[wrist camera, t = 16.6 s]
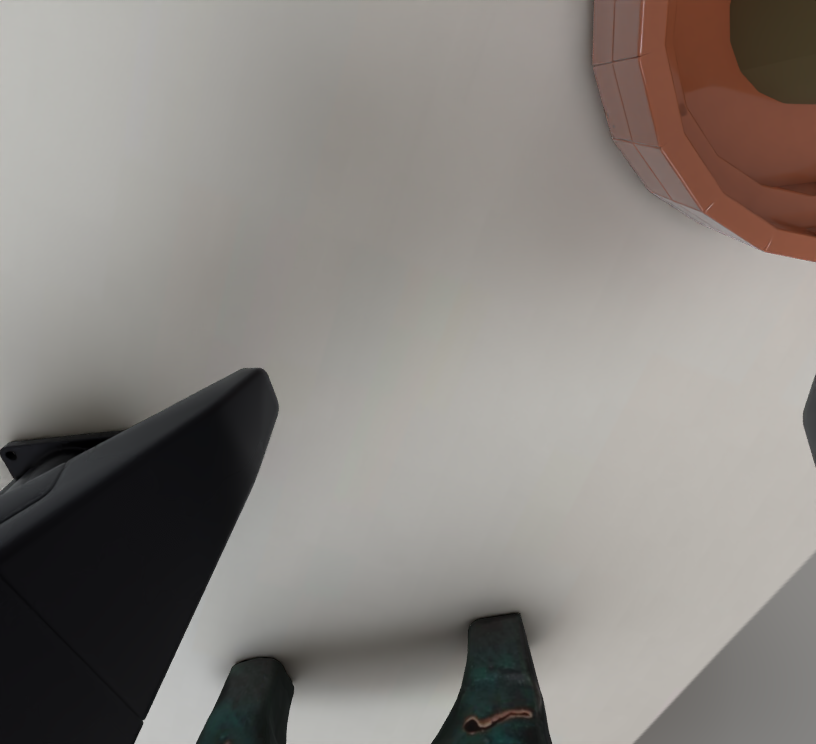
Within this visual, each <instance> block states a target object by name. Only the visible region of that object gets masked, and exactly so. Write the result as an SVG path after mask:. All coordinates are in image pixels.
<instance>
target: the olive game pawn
mask: <svg viewBox="0 0 816 744" xmlns="http://www.w3.org/2000/svg"><path fill="white" fill-rule="evenodd" d="M730 43H731V46H732V49H733V52H734V54H735V57H736V60H737V63H738V66H739V69H740V71H741V73H742V74H743V75H744V76H745V77H746V78H747V79H748V80H749V82H750V83H751V84H752V85H753V86H754V87H755V88H756V90H757V91H758V92H760V93H762V94H764V95H766V96H768V97H771V98H773V99H775V100H777V101H780V102H782V103H785V104H816V0H731V3H730Z"/></svg>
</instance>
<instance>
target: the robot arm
mask: <svg viewBox="0 0 816 744" xmlns="http://www.w3.org/2000/svg"><path fill="white" fill-rule="evenodd" d="M278 411H279V405H278V400H277V397H276V395H275V392H274V389H273V387H272V384H271V382H270V379H269V376H268V374H267V372H266V371H265V370H264V369H262V368H243V369H240V370H238V371H236V372H234V373H233V374H231V375H229V376H227V377H225V378H223V379H221V380H219V381H217V382H216V383H214V384H212V385H210V386H208V387H206V388H204V389H202V390H200V391H199V392H197V393H195V394H193V395H191V396H189V397H187V398H185V399H183V400H182V401H180V402H178V403H176V404H174V405H172V406H170V407H168V408H166V409H165V410H163V411H161V412H159V413H157V414H155V415H153V416H151V417H149V418H148V419H146V420H144V421H142V422H140V423H138V424H136V425H134V426H132V427H131V428H129V429H127V430H123V431H113V432H103V433H94V434H84V435H74V436H64V437H54V438H44V439H34V440H24V441H15V442H10V443H8V444H7V445H5V446H4V447H3V448H2V449H1V450H0V456H1V458H2V460H3V461H4V463H5V465H6V466H7V468H8V470H9V471H10V473H11V475H12V476H13V478H14V479H13V480H12V481H11V482H10V483H9V484H8V485H7V486H6V487H5V488H4V489H3V490H2V491H0V744H134V743H135V741H136V738H137V736H138V734H139V732H140V730H141V728H142V725H143V720H145V718H146V716H147V714H148V712H149V710H150V707H151V705H152V703H153V701H154V699H155V697H156V694H157V692H158V690H159V688H160V686H161V684H162V682H163V679H164V677H165V675H166V673H167V671H168V669H169V666H170V664H171V662H172V660H173V658H174V656H175V653H176V651H177V649H178V647H179V645H180V643H181V640H182V638H183V636H184V634H185V632H186V630H187V628H188V625H189V623H190V621H191V619H192V617H193V615H194V612H195V610H196V608H197V606H198V604H199V602H200V599H201V597H202V595H203V593H204V591H205V589H206V587H207V584H208V582H209V580H210V578H211V576H212V574H213V571H214V569H215V567H216V565H217V563H218V561H219V558H220V556H221V554H222V552H223V550H224V548H225V545H226V543H227V541H228V539H229V537H230V535H231V533H232V530H233V528H234V526H235V524H236V522H237V520H238V517H239V515H240V513H241V511H242V509H243V507H244V504H245V502H246V500H247V498H248V496H249V494H250V491H251V489H252V487H253V485H254V482H255V480H256V477H257V474H258V472H259V469H260V466H261V463H262V460H263V457H264V454H265V451H266V448H267V445H268V443H269V440H270V437H271V434H272V431H273V428H274V425H275V422H276V419H277V416H278ZM803 425H804V429H805V432H806V436H807V439H808V443H809V446H810V449H811V453H812V456H813V460H814V463H815V466H816V375H815V377H814V380H813V383H812V386H811V390H810V393H809V396H808V399H807V402H806V405H805V408H804V411H803ZM14 453H15V454H14Z"/></svg>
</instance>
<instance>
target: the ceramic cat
mask: <svg viewBox="0 0 816 744" xmlns="http://www.w3.org/2000/svg"><path fill="white" fill-rule="evenodd" d="M293 694H294V686H293V683H292V681H291V679H290V678H289V677H288V675H287V674H286V671H285V669H284V667H283V666H282V664H281V663H280V662H278V661H276V660H274V659H273V658H262V657H261V658H256V659H251V660H248V661H245V662H241V663H239V664H236V665H235V666H233V667H232V669H231V671H230V673H229V675H228V678H227V680H226V682H225V684H224V687H223V689H222V691H221V694H220V696H219V698H218V700H217V702H216V704H215V707H214V709H213V711H212V713H211V714H210V716H209V718H208V720H207V722H206V724H205V726H204V728H203V730H202V732H201V734H200V736H199V738H198V740H197V742H196V744H286V731H287V722H288V716H289V710H290V705H291V702H292V698H293ZM431 744H552V741H551V738H550V734H549V729H548V723H547V717H546V712H545V706H544V701H543V697H542V694H541V691H540V688H539V684H538V680H537V676H536V672H535V668H534V664H533V660H532V656H531V652H530V649H529V645H528V641H527V637H526V634H525V630H524V626H523V623H522V619H521V615H520V613H519V614H512V615H505V616H498V617H492V618H485V619H479V620H476V621H475V622H473V623H472V624H471V625H470V627H469V629H468V654H467V662H466V667H465V672H464V677H463V681H462V686H461V689H460V692H459V694H458V697H457V700H456V702H455V704H454V706H453V708H452V710H451V712H450V714H449V716H448V717H447V719H446V721H445V722H444V724H443V726H442V728H441V729H440V731H439V733H438V734H437V736H436V737H435V739H434V740H433V742H432V743H431Z"/></svg>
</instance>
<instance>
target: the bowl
mask: <svg viewBox="0 0 816 744" xmlns="http://www.w3.org/2000/svg"><path fill="white" fill-rule="evenodd" d="M730 3H731V0H594V18H593V55H592V65H593V71H594V75H595V78H596V82H597V86H598V89H599V93H600V97H601V100H602V104H603V108H604V111H605V115H606V119H607V122H608V126H609V130H610V133H611V137H612V138H613V141H614V142H615V144H616V145H617V147H618V148H619V150H620V151H621V152H622V154H623V155H624V157H625V158H626V159H627V161H628V162H629V164H630V165H631V167H632V168H633V169H634V171H635V172H636V174H637V175H638V176H639V178H640V179H641V181H642V182H643V184H644V185H645V186H646V188H647V189H648V190H649V191H650V192H651V193H652V194H654V195H655V196H657V197H658V198H660V199H662V200H663V201H665V202H666V203H668V204H669V205H671V206H672V207H674V208H676V209H677V210H679V211H680V212H682V213H683V214H685V215H686V216H688V217H690V218H691V219H693V220H694V221H696V222H697V223H699V224H701V225H704V226H706V227H708V228H710V229H713V230H715V231H717V232H719V233H722V234H724V235H727V236H729V237H731V238H733V239H735V240H738V241H740V242H742V243H745V244H747V245H749V246H751V247H754V248H756V249H758V250H761V251H763V252H767V253H771V254H776V255H781V256H786V257H791V258H796V259H801V260H806V261H811V262H816V104H785V103H782V102H780V101H777V100H775V99H773V98H771V97H768V96H766V95H764V94H762V93H760V92H758V91H757V90H756V88H755V87H754V86H753V85H752V84H751V83H750V82H749V80H748V79H747V78H746V77H745V76H744V75H743V74H742V73H741V71H740V69H739V66H738V63H737V60H736V57H735V54H734V52H733V49H732V46H731V43H730Z"/></svg>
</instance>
